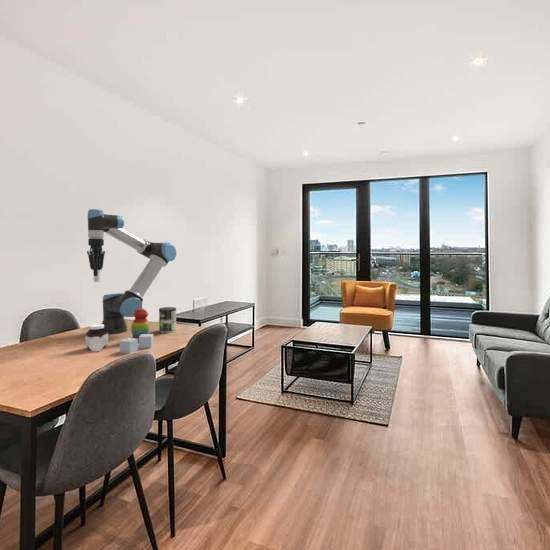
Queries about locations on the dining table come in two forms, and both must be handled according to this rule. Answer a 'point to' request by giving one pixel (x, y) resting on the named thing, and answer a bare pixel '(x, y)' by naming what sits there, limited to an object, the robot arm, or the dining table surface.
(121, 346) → the pip block three
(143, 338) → the pip block two
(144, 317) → the stacking bear
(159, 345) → the dining table surface
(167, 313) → the coffee can
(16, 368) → the dining table surface
